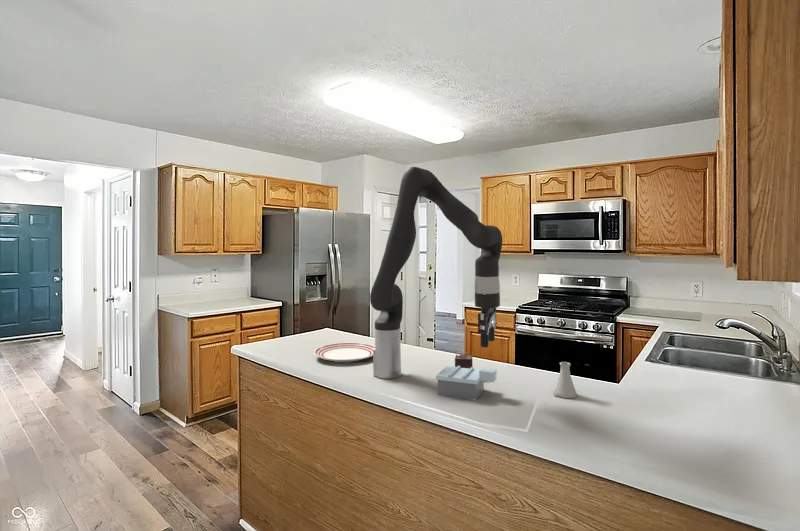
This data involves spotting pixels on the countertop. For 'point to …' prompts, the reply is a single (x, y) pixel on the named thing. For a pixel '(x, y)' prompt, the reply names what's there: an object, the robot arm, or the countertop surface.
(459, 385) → the tub
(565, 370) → the flask
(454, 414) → the countertop surface
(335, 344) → the dinner plate
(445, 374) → the lid
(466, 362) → the box
